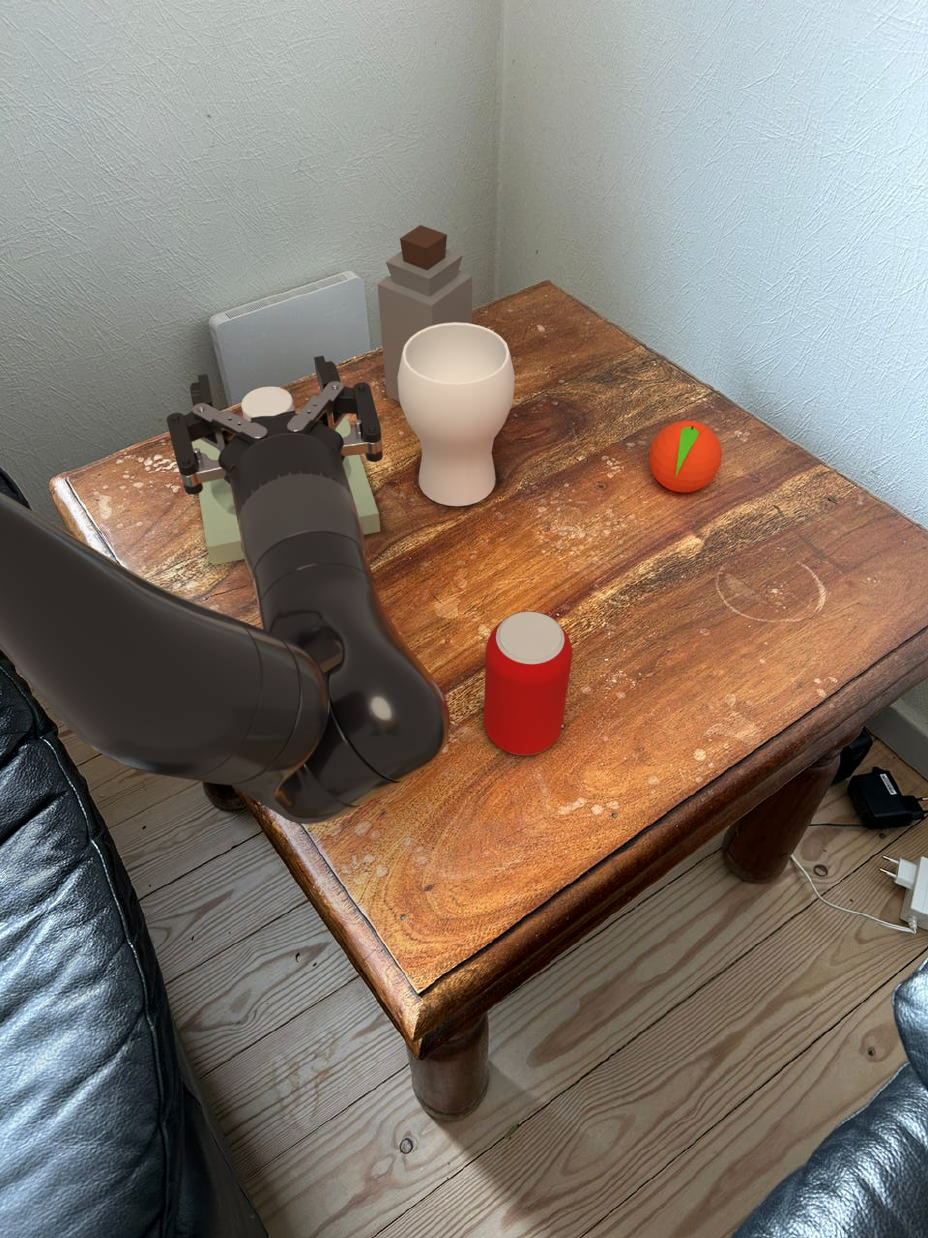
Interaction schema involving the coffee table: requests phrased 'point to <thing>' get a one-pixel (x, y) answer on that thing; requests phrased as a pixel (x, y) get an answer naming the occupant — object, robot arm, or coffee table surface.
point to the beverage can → (526, 682)
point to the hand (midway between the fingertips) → (262, 375)
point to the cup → (456, 407)
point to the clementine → (685, 456)
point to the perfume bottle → (420, 295)
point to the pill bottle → (266, 402)
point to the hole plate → (222, 513)
